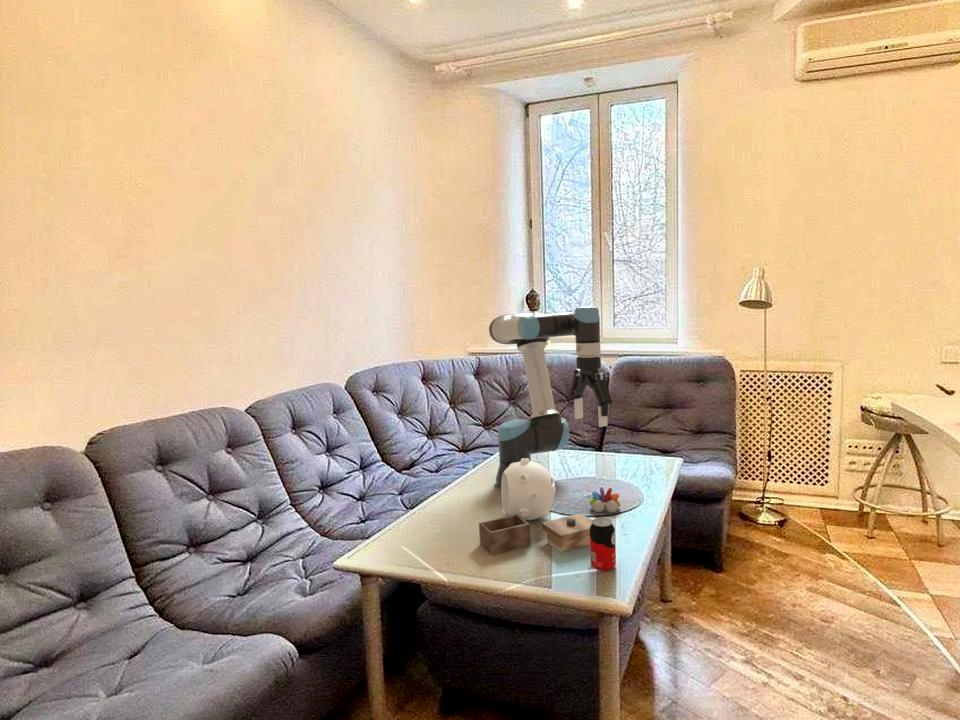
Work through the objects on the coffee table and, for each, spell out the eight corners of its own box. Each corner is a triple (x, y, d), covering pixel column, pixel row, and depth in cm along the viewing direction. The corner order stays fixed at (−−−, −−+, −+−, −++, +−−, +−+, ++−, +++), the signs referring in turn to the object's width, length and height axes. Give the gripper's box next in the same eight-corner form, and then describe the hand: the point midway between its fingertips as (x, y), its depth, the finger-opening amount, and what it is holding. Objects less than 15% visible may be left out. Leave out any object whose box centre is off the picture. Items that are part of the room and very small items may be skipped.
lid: (561, 542, 158) (560, 531, 158) (542, 529, 168) (541, 518, 168) (601, 532, 163) (601, 521, 163) (581, 519, 173) (580, 509, 172)
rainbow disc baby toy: (620, 514, 186) (620, 492, 185) (589, 514, 188) (588, 491, 187) (620, 504, 194) (619, 483, 193) (590, 504, 196) (589, 483, 195)
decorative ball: (565, 528, 177) (562, 465, 175) (509, 535, 174) (505, 471, 172) (547, 505, 197) (544, 448, 194) (496, 511, 194) (493, 453, 192)
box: (491, 557, 161) (490, 533, 160) (480, 546, 168) (479, 522, 167) (530, 547, 165) (529, 523, 165) (518, 537, 173) (516, 514, 172)
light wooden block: (560, 554, 161) (559, 540, 160) (547, 544, 167) (546, 531, 166) (597, 544, 165) (596, 530, 165) (583, 535, 172) (582, 522, 171)
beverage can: (600, 574, 148) (598, 528, 147) (586, 564, 154) (584, 520, 153) (620, 568, 151) (619, 523, 149) (606, 558, 156) (605, 515, 155)
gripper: (557, 353, 195) (560, 416, 198) (601, 360, 172) (603, 431, 175) (577, 351, 198) (579, 413, 200) (622, 358, 175) (624, 428, 178)
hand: (590, 422), depth 188 cm, fingers open, 13 cm apart
